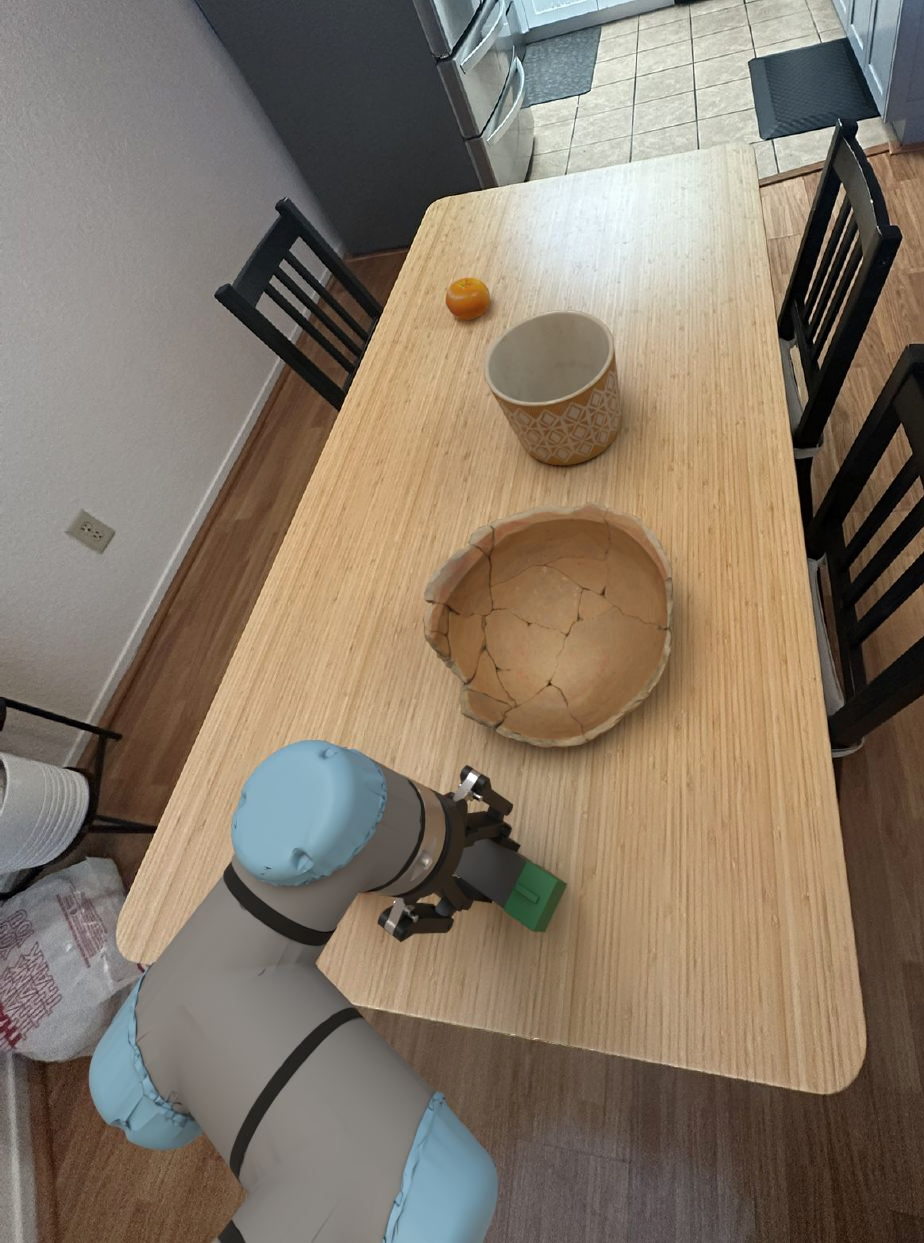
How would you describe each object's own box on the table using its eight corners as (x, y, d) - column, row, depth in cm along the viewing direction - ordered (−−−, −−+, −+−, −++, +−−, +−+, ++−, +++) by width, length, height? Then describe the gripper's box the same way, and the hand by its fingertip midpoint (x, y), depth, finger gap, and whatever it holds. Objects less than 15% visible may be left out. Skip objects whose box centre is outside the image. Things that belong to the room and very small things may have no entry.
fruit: (500, 282, 126) (467, 263, 121) (493, 321, 125) (460, 304, 119) (475, 293, 133) (442, 275, 127) (468, 331, 131) (435, 315, 125)
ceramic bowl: (497, 805, 72) (447, 750, 62) (442, 629, 92) (397, 565, 82) (727, 679, 76) (713, 608, 66) (626, 535, 96) (604, 463, 86)
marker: (428, 849, 69) (408, 844, 65) (452, 807, 71) (434, 799, 67) (545, 932, 63) (531, 931, 59) (567, 883, 65) (556, 879, 60)
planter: (562, 496, 98) (535, 427, 85) (492, 432, 108) (459, 362, 95) (654, 422, 102) (642, 346, 89) (579, 367, 113) (558, 292, 100)
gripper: (366, 998, 43) (479, 981, 61) (502, 750, 50) (566, 802, 69) (291, 932, 46) (420, 935, 64) (429, 708, 53) (509, 768, 72)
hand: (495, 866), depth 67 cm, fingers closed on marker, 4 cm apart
